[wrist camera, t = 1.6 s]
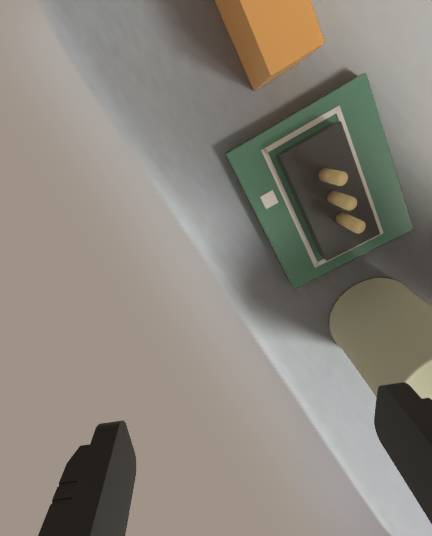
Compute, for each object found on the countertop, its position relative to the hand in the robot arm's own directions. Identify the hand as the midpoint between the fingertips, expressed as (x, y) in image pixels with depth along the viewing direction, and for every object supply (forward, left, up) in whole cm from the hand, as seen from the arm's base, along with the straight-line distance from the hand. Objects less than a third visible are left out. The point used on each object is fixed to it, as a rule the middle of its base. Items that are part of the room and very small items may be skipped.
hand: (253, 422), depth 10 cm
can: (-10, +16, -21) cm, 28 cm away
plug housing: (-10, -13, -21) cm, 26 cm away
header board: (-10, +1, -21) cm, 23 cm away
